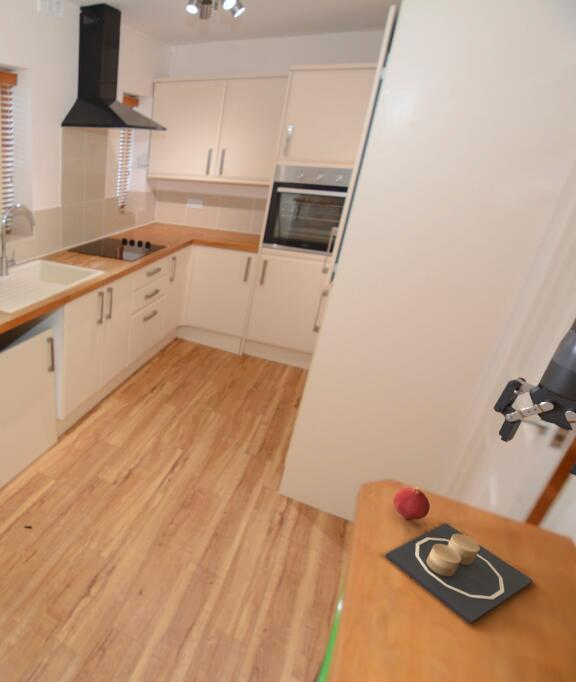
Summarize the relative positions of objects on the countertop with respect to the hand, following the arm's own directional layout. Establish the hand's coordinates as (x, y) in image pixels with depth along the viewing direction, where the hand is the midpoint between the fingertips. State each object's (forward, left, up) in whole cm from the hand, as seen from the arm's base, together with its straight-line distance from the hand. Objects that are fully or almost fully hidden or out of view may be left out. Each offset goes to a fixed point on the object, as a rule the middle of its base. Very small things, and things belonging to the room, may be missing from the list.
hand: (539, 455), depth 71 cm
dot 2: (+3, 0, -25) cm, 25 cm away
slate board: (+2, +3, -26) cm, 26 cm away
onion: (+13, -1, -26) cm, 29 cm away
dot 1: (+3, +6, -25) cm, 26 cm away
